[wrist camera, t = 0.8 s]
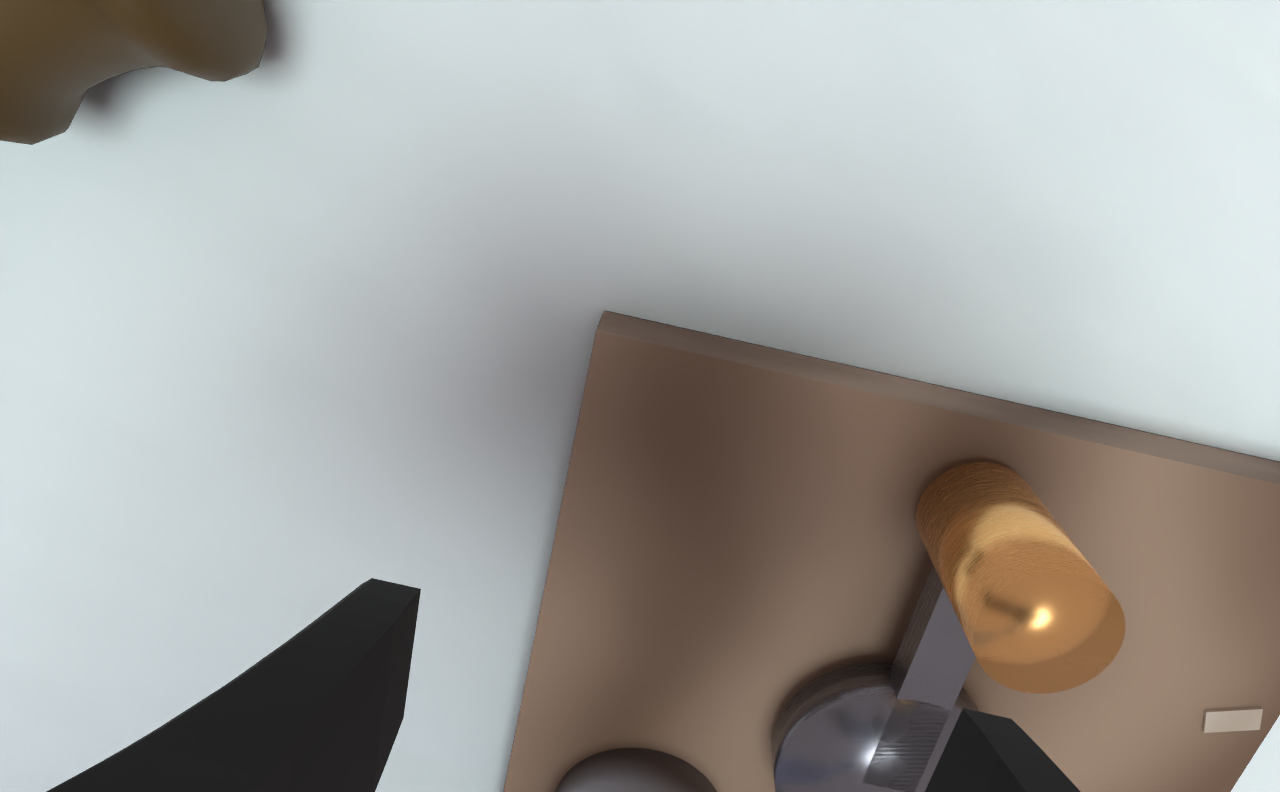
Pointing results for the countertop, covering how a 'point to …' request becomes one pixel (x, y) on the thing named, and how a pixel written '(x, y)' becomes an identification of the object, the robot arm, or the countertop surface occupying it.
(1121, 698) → the base
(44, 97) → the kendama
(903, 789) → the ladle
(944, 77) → the countertop surface
